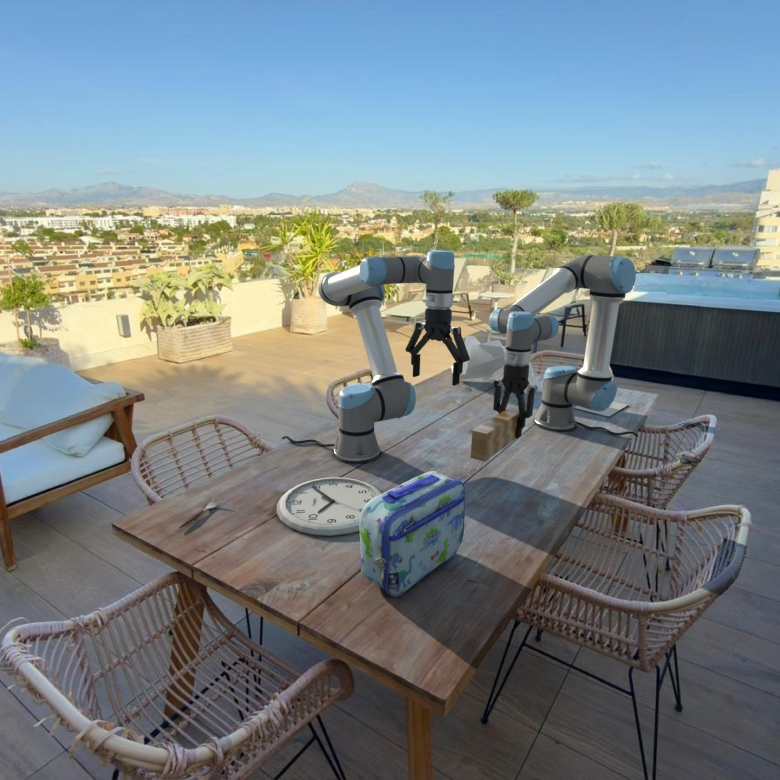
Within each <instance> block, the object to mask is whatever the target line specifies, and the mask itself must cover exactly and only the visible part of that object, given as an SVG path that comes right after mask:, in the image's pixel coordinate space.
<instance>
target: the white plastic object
mask: <svg viewBox="0 0 780 780" xmlns="http://www.w3.org/2000/svg"><path fill="white" fill-rule="evenodd" d="M502 309H503V310H506V309H507V308H502ZM464 344H465V346H466V349H467V352H468V355H469V358H470V360H469V361H466V362H463V371H462V373H461V374H460V378H459V381H465V380H472V379H473V380H474V379H481V378H482V379H484V380H486V379H489V378H491V377H494V374H495V373H496V372H498V371H499V370H500V369H502V368H504V364H505V363H506V362H505V361H504V360H505V349H506V345H503V344H502V342H501V340H500V339H495V340H491V341H486V342H483V343H481V342H480V341H479V340H478V339H477V337H476V336H475V335H465V339H464ZM528 365H529V377H530V380H531V383H532V386H536V387H537V390H536V392H537V391H540V387H539V384H538V380H537V378H536V374H535V371H534V368H533V365H532V363H531V361H530V363H529V364H528ZM450 369H451V373H452V374H453V364H452V365H451V366H450ZM527 393H528V389H527V388H526V389H525V390H524V394H527Z"/></svg>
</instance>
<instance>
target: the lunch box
mask: <svg viewBox="0 0 780 780" xmlns="http://www.w3.org/2000/svg"><path fill="white" fill-rule="evenodd" d="M382 493H383V494H381V495H378V496H376V497H374V498H373V499H371V500H370V501H369V502H368V503H367V504H366V505H365V507H364V508H363V510H362V513H361V516H360V526H359V531H358V532H359V563H360V564H359V565H360V572H361V575H362V578H364V579H366V580H367V581H369V582H371V583H373V584H375V585H376V586H378V587H379V588H381V589H383V591H384V592H385V593H386V594H388V595H389V596H392V597H393V598H394V597H395V598H396V597H400V596H402V595H403V594H404V593H406V592H407V591H408V590H410V588H412V587H413V586H414V585H416V584H417V583H418V582H420V581H421V580H422V579H424V578H425V577H426V576H428V575H430V573H432V572H433V570H435V569H436V568H437V567H439V566H441V565H442V564H444V563H445V562H446V561H448V560H450V559H451V558H452V557H453V556H455V554H456V553H457V552H458V551H459V549H460V547H461V544H462V543H463V539H464V533H465V518H466V516H465V515H466V488H465V484H464V482H463V481H462V480H459V479H453V478H450V477H448V476H446V475H445V474H442V473H440V472H438V471H435V470H431V471H430V470H429V471H427V472H424V473H422V474H420V475H417V476H415V477H413V478H411V479H409V480H407V481H405V482H402V483H401V484H398V485H397V486H395V487H392V488H390V489H389V490H387V491H384V492H382Z"/></svg>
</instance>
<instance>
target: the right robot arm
mask: <svg viewBox="0 0 780 780" xmlns="http://www.w3.org/2000/svg"><path fill="white" fill-rule="evenodd" d="M636 280H637V271H636V267H635V264H634V262H633V261H632V260H631V259H630V258H628V257H625V256H617V255H598V254H597V255H595V254H586V255H581V256H578V257H575V258H572V259H570V260H568V261H566V262H565V263H563V264H561V265H560V266H558V267H557V268H556V269H554V270H553V271H552V274H551V275H550V276H549V277H548V278H547V279H546V280H544V281H542V282H541V283H540V284H538V285H537V286H536V287H534V288H533V289H532V290H530V291H529V292H528V293H527V294H525V295H524V296H522V297H521V298H519V299H518V300H517V301H516V302H514V303H513V304H511V305H510V306H508V307H507V308H505V309H506V310H503V309H504V308H501V309H500V308H496V309H494V310H493V311H491V313H490V315H489V317H488V324H489V328H490V329H491V330H492V331H493V332H496V333H500V334H505V335H506V338H505V339H506V340H505V347H506V349H505V360H504V361H505V362H506V363H505V364H504V366H503V371H502V375H503V376H502V377H501V378H497V379H494V380H493V386H494V392H493V406H492V409H493V411H495V412H497V413H498V414H500V413H501V412H503V411H505V410H506V409H507V406H508V404H509V400H510V398H511V394H514V395H515V397H516V400H517V401H516V402H517V406H518V408H517V409H519V415H520V417H519V418H517V427H516V437H515V438H517V439H516V440H518V439H519V438H521V437H522V433H523V429H524V428H525V427H526V419H529V418H531V417H532V416H533V414H534V413H533V412H534V404H535V394H536V392H537V391H538V390H537V387H536V386H533V384H530V381H529V377H530V374H529V365H528V364H529V363H530V362H531V355H532V354H531V353H532V345H533V343H535V342H540V341H548V340H550V339H553V338H555V337H556V336H557V335H558V333H559V330H560V323H559V321H558V319H557V318H556V317H555V316H553V315H551V314H542V315H538V314H539V313H541V312H542V311H543V310H545V309H547V307H548V306H550V305H551V304H553V303H554V302H555V301H556V300H558V299H559V298H560V297H562V296H563V295H564V294H568V293H569V294H570V293H571V292H573V291H574V290H577V289H584V290H585V289H586V290H589V295H588V296H589V297H590V299H592V305H591V312H590V318H589V325H588V332H587V338H586V343H585V351H584V352H585V353H584V359H583V365H582V367H581V368H580V369H578V368H577V367H576V366H571V365H570V366H569V365H555V366H554V365H553V366H550V367H547V368H546V369H545V371H544V375H543V378H542V379H543V381H542V382H543V383H542V394H541V402H540V405H539V407H538V410H537V411H536V413H535V417H534V424H535V425H536V426H537V427H539V428H542V429H544V430H549V431H556V432H567V431H572V430H574V429H575V428H576V425H579V426H581V427H583V428H586V429H588V430H602V431H604V432H606V433H608V434H609V435H613V436H624V435H633V436H634V437H640V435H638V434H637V432H635V431H632V430H628V431H622V432H614V431H612V430H610V429H608V428H607V427H603V426H590V425H587V424H584V423H582V422H579V421H577V420H576V418H575V417H576V416H575V413H574V407H573V405H574V406H581V407H584V408H587V409H589V410H594V411H604V410H606V409H607V408H608V407H609V406H610V405H611V403H612V402H613V401H614V400H615V398H616V396H617V392H618V387H617V383H616V382H615V381H613V373H612V372H610V363H611V357H612V352H613V345H614V338H615V332H616V326H617V320H618V313H619V307H620V303H621V302H623V300H624V299H626V296H627V294H630V292H632V291H633V289H634V287H635V285H636ZM502 386H504V392H503V396H502ZM525 389H526V390H527V396H526V397H527V398H526V400H525V392H524V390H525ZM536 390H537V391H536Z"/></svg>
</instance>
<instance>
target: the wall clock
mask: <svg viewBox="0 0 780 780" xmlns="http://www.w3.org/2000/svg"><path fill="white" fill-rule="evenodd" d="M383 493H384V492H382V491H381V490H380V489H379V488H377V487H376V486H374V485H372V484H371V483H369V482H365V481H362V480H359V479H355V478H349V477H338V476H337V477H335V476H333V477H332V476H331V477H322V478H317V479H312V480H307V481H305V482H302V483H299V484H297V485H295V486H293V487H292V488H290V489H288V490H287V491H286V492H285V493H284V494H283V495H281V496H280V498H279V499H278V502H277V503H276V515H277V517H278V518H279V520H280V521H281V522H282V523H283V524H285V525H286V526H287V527H288V528H290V529H293V530H295V531H297V532H299V533H303V534H308V535H312V536H327V537H328V536H329V537H331V536H332V537H333V536H342V535H350V534H352V533H356V532H360V531H359V526H360V516H361V513H362V510H363V508H364V507H365V505H366V504H367V503H368V502H369V501H370V500H371V499H373V498H374V497H376V496H378V495H381V494H383Z"/></svg>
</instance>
